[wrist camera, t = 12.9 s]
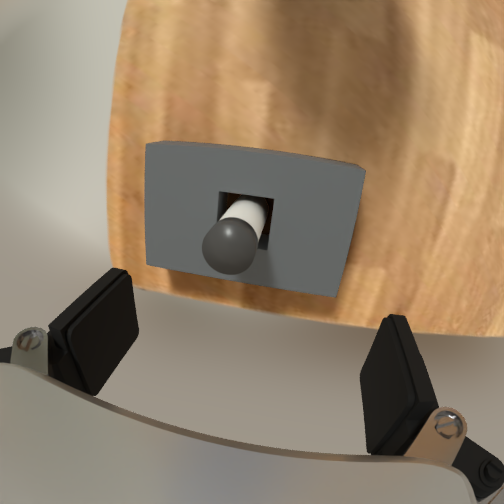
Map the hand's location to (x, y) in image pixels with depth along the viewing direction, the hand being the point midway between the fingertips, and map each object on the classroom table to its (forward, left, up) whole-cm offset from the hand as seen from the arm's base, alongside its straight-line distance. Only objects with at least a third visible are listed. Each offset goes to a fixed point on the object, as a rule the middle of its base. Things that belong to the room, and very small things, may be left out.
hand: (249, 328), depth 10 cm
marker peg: (+1, +4, -25) cm, 25 cm away
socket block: (+1, +4, -25) cm, 25 cm away
